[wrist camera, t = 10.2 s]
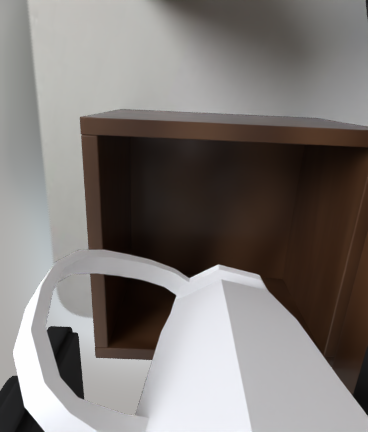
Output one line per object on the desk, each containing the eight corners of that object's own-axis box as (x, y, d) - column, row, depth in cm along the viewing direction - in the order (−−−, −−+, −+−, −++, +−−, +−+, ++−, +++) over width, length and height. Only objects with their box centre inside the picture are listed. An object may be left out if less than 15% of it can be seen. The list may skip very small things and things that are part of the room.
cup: (231, 398, 15) (273, 707, 8) (41, 284, 13) (-164, 554, 5) (346, 299, 13) (563, 587, 5) (143, 143, 11) (42, 263, 3)
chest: (124, 274, 29) (95, 357, 20) (120, 109, 24) (79, 116, 15) (287, 281, 29) (333, 367, 20) (316, 118, 24) (396, 131, 15)
